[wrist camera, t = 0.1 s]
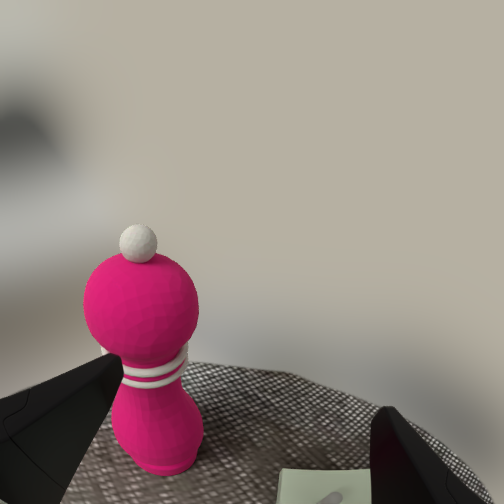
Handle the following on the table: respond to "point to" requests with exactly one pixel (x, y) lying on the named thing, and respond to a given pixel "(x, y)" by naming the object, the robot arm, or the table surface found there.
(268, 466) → the table surface
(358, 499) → the pale green peg board
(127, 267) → the pepper mill
